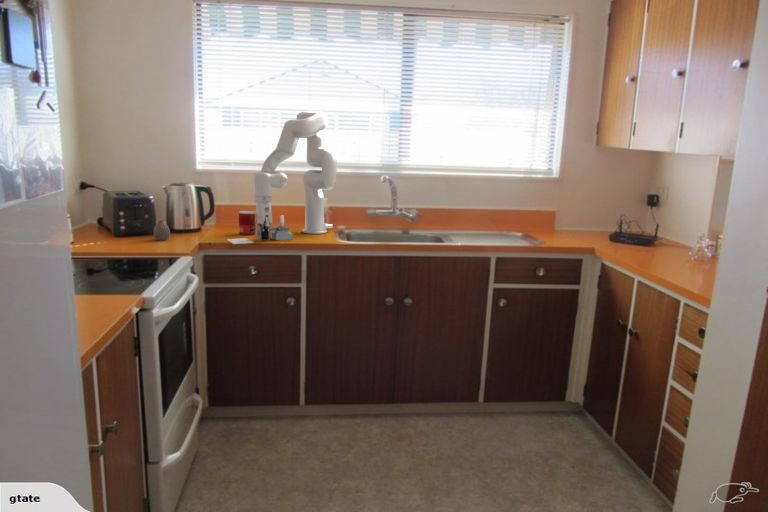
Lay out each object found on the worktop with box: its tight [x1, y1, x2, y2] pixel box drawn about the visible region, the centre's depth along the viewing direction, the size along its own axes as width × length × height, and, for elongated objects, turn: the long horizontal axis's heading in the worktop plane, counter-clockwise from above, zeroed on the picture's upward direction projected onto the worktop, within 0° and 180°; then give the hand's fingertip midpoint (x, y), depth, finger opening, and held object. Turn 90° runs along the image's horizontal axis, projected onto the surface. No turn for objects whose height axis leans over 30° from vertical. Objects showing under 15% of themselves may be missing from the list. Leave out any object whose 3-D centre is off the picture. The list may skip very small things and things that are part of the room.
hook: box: [256, 224, 290, 241], centre depth 259 cm, size 14×5×7 cm, turn 120°
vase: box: [153, 219, 171, 242], centre depth 249 cm, size 7×7×9 cm
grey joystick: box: [270, 215, 294, 241], centre depth 261 cm, size 8×7×11 cm
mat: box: [226, 237, 254, 245], centre depth 252 cm, size 9×11×1 cm
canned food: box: [238, 210, 257, 236], centre depth 272 cm, size 8×8×11 cm
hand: (263, 238), depth 257 cm, fingers closed on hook, 4 cm apart
